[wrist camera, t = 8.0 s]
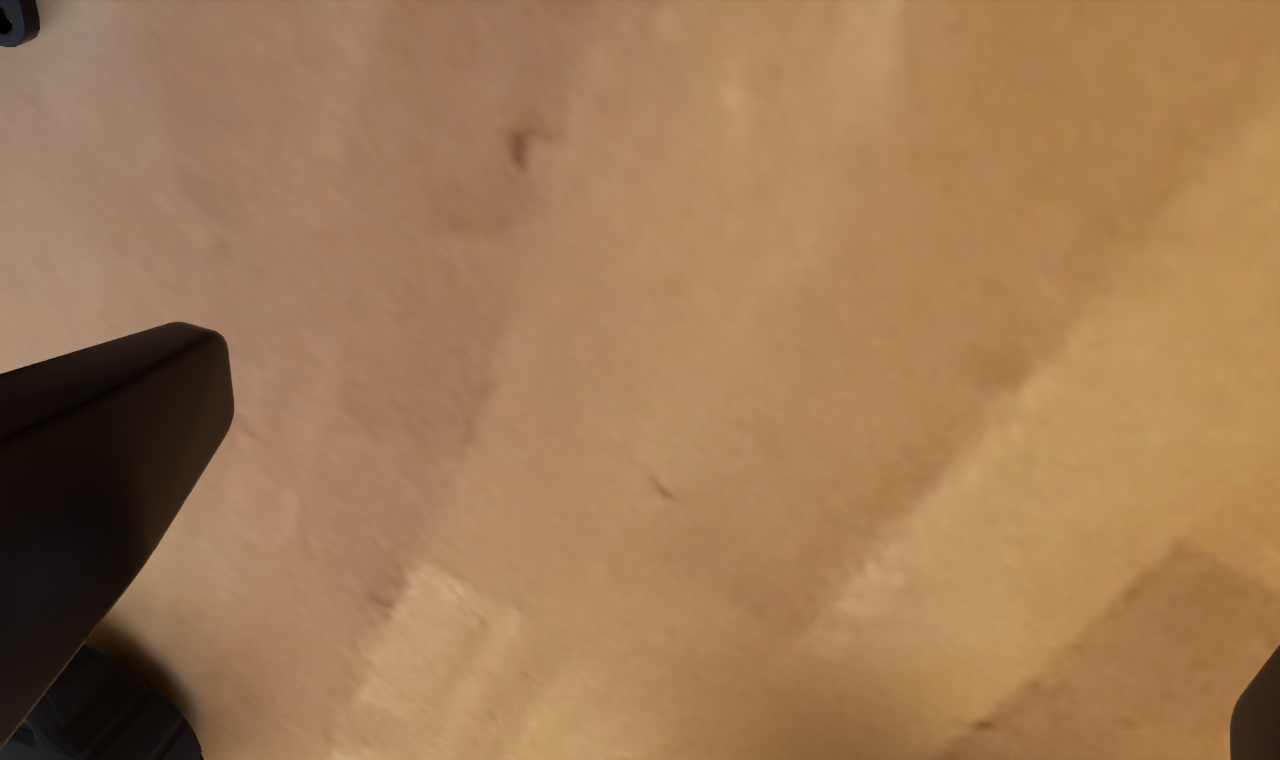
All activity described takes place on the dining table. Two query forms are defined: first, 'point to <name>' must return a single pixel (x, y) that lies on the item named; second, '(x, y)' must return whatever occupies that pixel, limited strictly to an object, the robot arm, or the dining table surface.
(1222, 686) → the dining table surface
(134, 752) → the tape measure
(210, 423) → the robot arm
